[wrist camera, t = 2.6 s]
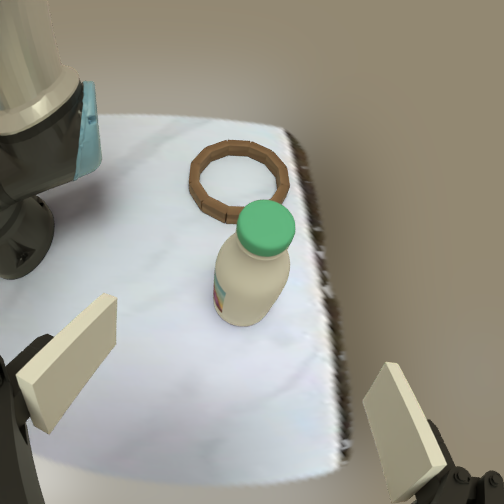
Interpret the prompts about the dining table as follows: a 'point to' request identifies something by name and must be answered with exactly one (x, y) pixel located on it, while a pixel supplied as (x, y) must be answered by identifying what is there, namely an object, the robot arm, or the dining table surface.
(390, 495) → the robot arm
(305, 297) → the dining table surface
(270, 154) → the walnut ring
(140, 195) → the dining table surface
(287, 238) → the milk bottle
